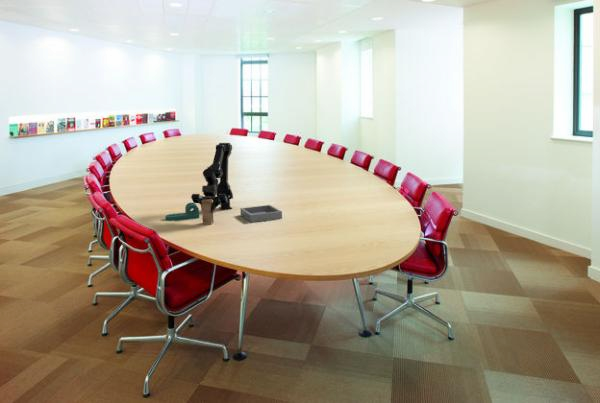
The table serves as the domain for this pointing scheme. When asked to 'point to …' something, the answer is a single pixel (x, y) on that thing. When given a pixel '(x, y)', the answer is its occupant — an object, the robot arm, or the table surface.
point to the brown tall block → (207, 212)
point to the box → (261, 213)
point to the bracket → (187, 214)
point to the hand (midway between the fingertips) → (206, 212)
